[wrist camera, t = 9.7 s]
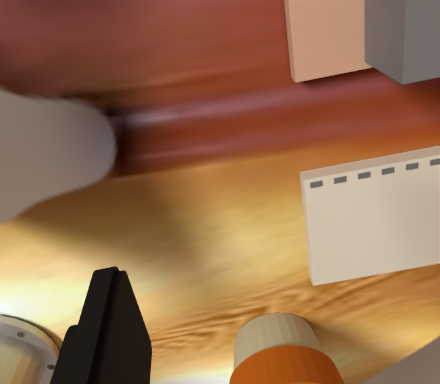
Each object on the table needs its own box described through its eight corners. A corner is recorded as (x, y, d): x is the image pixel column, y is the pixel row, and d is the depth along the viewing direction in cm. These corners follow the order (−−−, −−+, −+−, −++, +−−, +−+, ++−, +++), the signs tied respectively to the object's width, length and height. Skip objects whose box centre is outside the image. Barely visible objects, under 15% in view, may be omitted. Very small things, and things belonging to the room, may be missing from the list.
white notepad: (448, 250, 40) (457, 260, 39) (309, 275, 41) (313, 286, 40) (462, 141, 34) (474, 148, 33) (299, 171, 35) (304, 180, 34)
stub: (477, 40, 30) (556, 62, 24) (291, 77, 31) (317, 109, 24) (490, -53, 27) (584, -57, 21) (283, -10, 28) (311, 0, 21)
